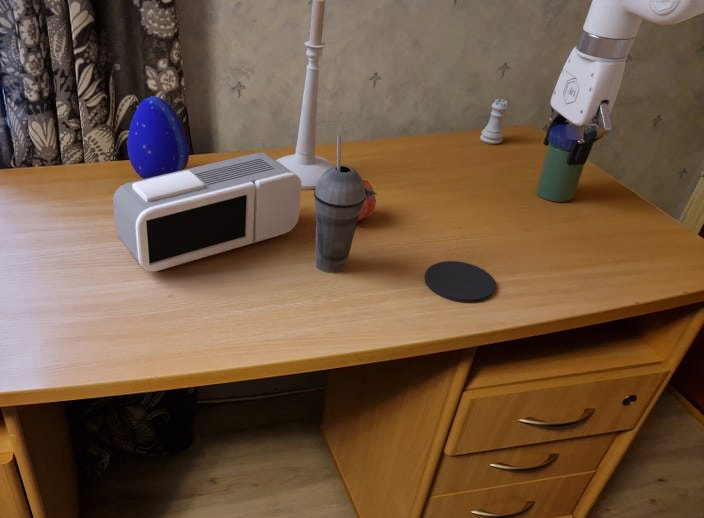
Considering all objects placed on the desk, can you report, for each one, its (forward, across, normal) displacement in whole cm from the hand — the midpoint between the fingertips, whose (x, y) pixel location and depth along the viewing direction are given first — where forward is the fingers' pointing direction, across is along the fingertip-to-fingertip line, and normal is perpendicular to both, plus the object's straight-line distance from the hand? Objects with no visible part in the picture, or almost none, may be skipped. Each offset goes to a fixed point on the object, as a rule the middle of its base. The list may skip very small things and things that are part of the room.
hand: (563, 153), depth 116 cm
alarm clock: (+8, +9, -63) cm, 64 cm away
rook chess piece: (+8, -24, 0) cm, 25 cm away
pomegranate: (+8, +4, -38) cm, 39 cm away
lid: (-3, 0, 0) cm, 3 cm away
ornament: (+9, -15, -69) cm, 71 cm away
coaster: (+7, +24, -28) cm, 38 cm away
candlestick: (+8, -14, -42) cm, 45 cm away
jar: (+7, 0, +1) cm, 7 cm away
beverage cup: (+8, +17, -45) cm, 49 cm away
